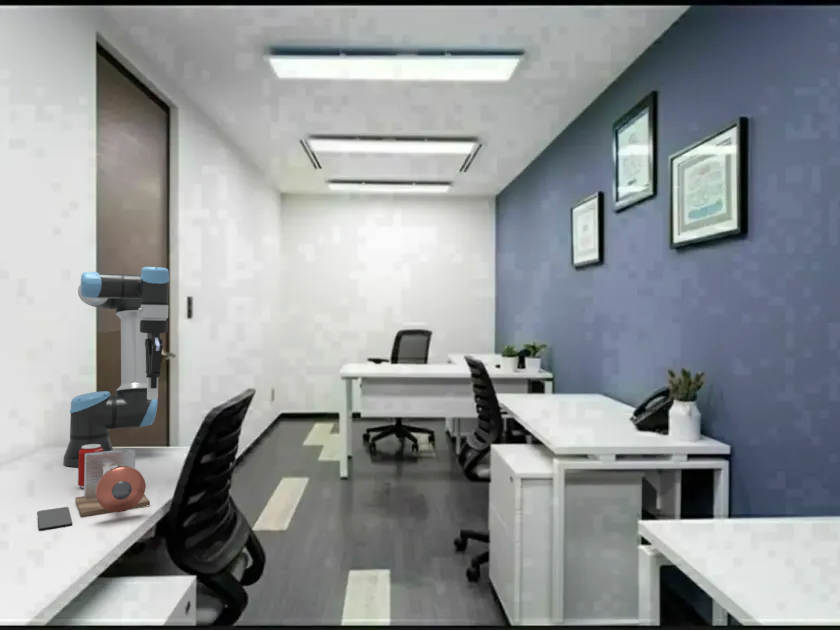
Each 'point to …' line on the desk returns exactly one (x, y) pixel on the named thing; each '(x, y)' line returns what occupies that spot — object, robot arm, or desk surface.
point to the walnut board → (99, 506)
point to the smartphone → (54, 518)
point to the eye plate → (100, 460)
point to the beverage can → (81, 466)
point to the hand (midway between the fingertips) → (152, 398)
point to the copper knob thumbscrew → (120, 489)
